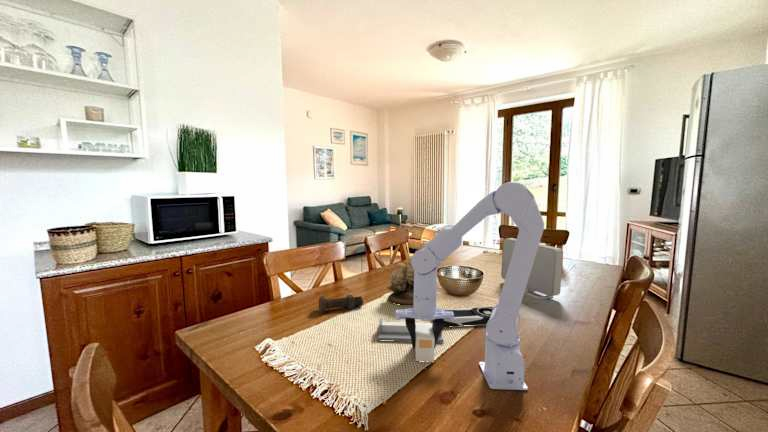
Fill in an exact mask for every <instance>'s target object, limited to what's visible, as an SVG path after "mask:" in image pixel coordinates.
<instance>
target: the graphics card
mask: <svg viewBox="0 0 768 432" xmlns="http://www.w3.org/2000/svg"><path fill="white" fill-rule="evenodd" d="M493 308H494V306H484V307H481V306H480V307H464V308H463V307H460V308H459V307H458V308H446V307H444V308H443V307H442V308H441V307H436V309H439V310H445V311H453V313H454V321H453V322H451V321H449V320H444V324H445V325H444V327H447V328H450V327H449V326H464V325H476V326H475V327H486V325H487V322H488V321H489V319H490V317H491V314H492V310H493Z"/></svg>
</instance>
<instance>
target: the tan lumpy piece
mask: <svg viewBox="0 0 768 432" xmlns="http://www.w3.org/2000/svg"><path fill="white" fill-rule="evenodd" d="M412 256H413V255H411V256H409V257H408V258H407V265H408V267H407V265H406V264H405V263H403V262H398V263H396V264H395V266H394V270H392V272H391V276H390V283H391V284H389V285H387V290H389V291H392V293H390V294H389V295H388V296H387V301H388V302H389V301H390V302H392V303H395V304H400V305H399V306H401V305H413V303H414V269H413V267H412V264H411V259H412ZM390 302H389V303H390ZM392 303H391V304H392ZM395 304H394V305H395Z"/></svg>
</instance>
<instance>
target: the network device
mask: <svg viewBox="0 0 768 432" xmlns="http://www.w3.org/2000/svg"><path fill="white" fill-rule="evenodd" d="M516 240H517V238H514V237H508V238H504V239H503V241H502V253H501V254H502V256H501V273H500V276H501V278H502V279H503V280H505V278H506V274H507V271H508V267H509V264H510V260H511V257H512V254H513V250H514V247H515V243H516ZM563 261H564V251H563V248H560V247H556V246H551V245H545V244H541V243H539V246H538V250H537V253H536V256H535V259H534V263H533V266H532V269H531V272H530V276H529V279H528V282H527V285H526V289H525V292H524V295H527V296H530V297H532V298H535V299H538V300H546V299H547V300H548V299H552V298H553V297H554V296H559V295H560V294H561V287H562V286H561V285H562V275H563V274H562V273H563ZM533 292H538V293H540V294H543V295H544V296H538V295H536V294H533Z"/></svg>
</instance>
